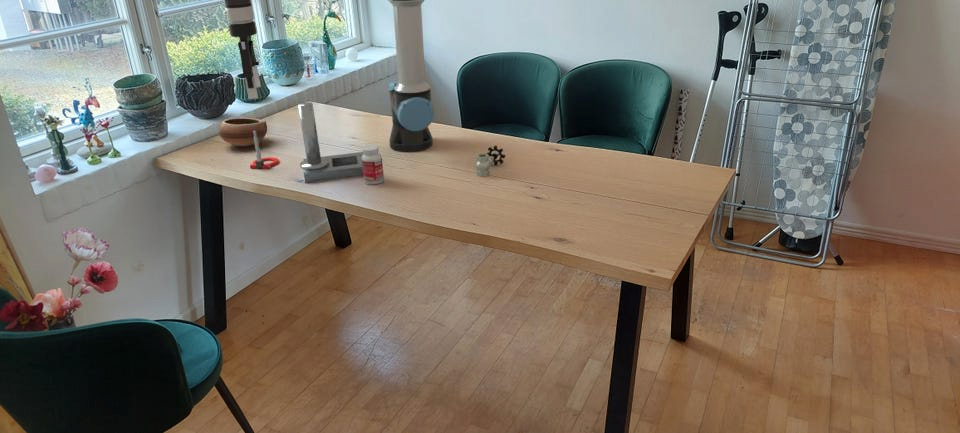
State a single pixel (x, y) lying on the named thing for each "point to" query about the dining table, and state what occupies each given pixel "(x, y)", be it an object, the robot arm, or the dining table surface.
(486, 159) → the valve
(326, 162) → the rosette post
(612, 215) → the dining table surface
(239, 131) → the bowl
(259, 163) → the tow hook
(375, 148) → the pill bottle
